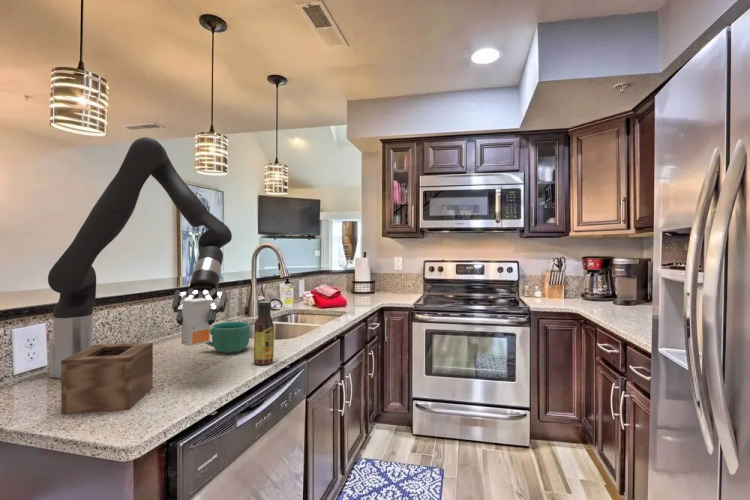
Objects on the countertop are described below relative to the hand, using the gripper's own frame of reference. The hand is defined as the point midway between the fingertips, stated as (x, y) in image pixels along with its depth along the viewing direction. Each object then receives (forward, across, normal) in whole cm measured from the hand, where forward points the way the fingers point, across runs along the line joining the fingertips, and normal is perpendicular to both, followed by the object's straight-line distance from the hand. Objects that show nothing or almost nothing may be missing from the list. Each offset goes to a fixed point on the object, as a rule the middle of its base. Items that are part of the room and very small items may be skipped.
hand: (195, 323), depth 104 cm
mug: (-13, +2, +38) cm, 40 cm away
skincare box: (+3, 0, +5) cm, 6 cm away
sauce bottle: (-1, +16, +26) cm, 30 cm away
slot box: (+16, -18, +8) cm, 25 cm away
